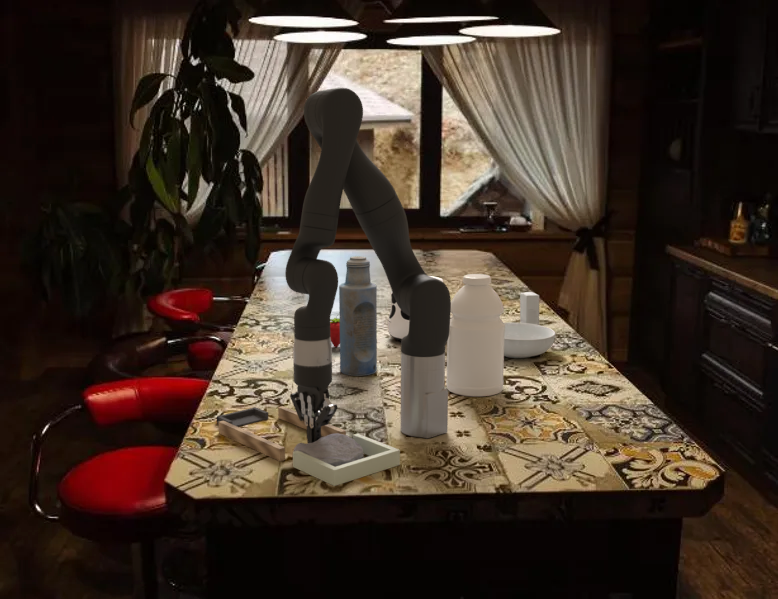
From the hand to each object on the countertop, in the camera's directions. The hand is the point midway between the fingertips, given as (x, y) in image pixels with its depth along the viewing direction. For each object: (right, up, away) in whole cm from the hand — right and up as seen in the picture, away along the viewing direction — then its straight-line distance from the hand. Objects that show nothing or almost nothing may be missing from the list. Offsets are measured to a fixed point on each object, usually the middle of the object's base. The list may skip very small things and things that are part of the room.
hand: (313, 443), depth 191 cm
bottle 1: (+7, +10, +59) cm, 60 cm away
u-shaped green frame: (+7, -3, -7) cm, 10 cm away
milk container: (+23, +17, +94) cm, 98 cm away
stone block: (+4, -3, -5) cm, 7 cm away
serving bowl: (+51, +13, +77) cm, 93 cm away
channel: (-7, 0, +8) cm, 11 cm away
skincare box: (+58, +18, +103) cm, 120 cm away
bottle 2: (+36, +7, +43) cm, 57 cm away
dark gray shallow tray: (-17, +2, +19) cm, 25 cm away
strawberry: (0, +15, +84) cm, 85 cm away
